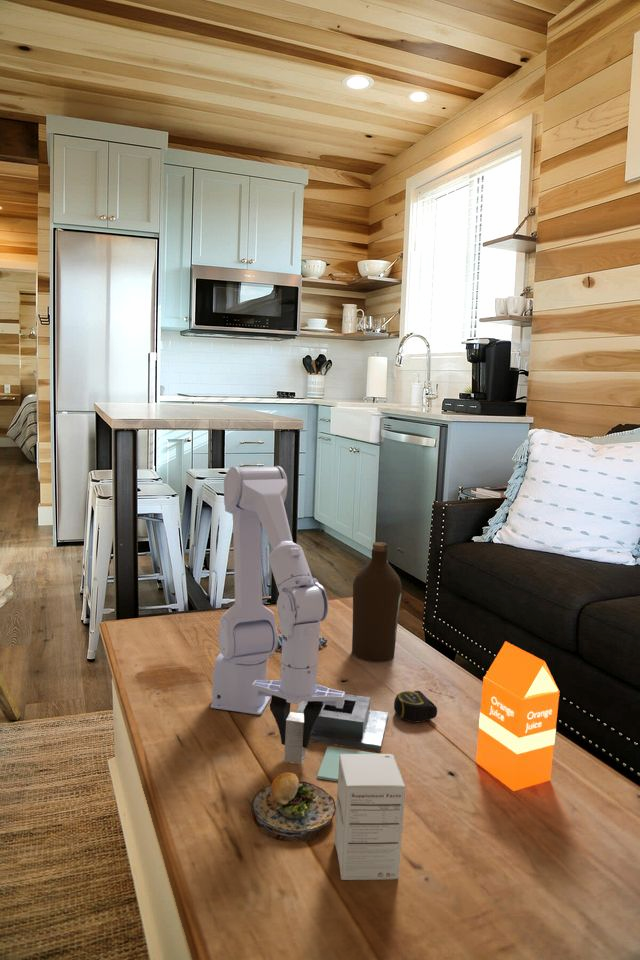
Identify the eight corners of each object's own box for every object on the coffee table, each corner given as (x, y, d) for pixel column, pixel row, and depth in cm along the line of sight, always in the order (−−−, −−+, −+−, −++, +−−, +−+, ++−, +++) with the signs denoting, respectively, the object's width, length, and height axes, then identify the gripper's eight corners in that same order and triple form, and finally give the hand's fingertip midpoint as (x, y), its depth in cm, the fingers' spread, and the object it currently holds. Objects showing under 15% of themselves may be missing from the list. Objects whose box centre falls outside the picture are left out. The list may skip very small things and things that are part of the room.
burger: (327, 850, 91) (330, 797, 90) (239, 835, 93) (241, 783, 92) (341, 797, 103) (344, 750, 102) (263, 785, 105) (265, 738, 104)
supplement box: (333, 842, 93) (338, 752, 91) (388, 841, 93) (395, 752, 91) (339, 882, 85) (345, 785, 84) (399, 881, 86) (407, 785, 84)
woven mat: (264, 649, 157) (265, 641, 157) (291, 636, 166) (292, 628, 166) (303, 661, 152) (304, 652, 151) (329, 647, 161) (330, 638, 160)
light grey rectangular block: (284, 761, 111) (286, 720, 110) (288, 752, 114) (290, 711, 113) (301, 764, 111) (303, 722, 110) (305, 755, 113) (307, 714, 112)
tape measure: (437, 724, 126) (439, 704, 126) (402, 727, 124) (404, 707, 124) (421, 706, 133) (422, 687, 132) (387, 710, 131) (388, 691, 130)
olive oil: (356, 664, 150) (363, 549, 147) (343, 645, 161) (350, 538, 157) (403, 662, 153) (411, 549, 149) (388, 643, 163) (395, 538, 159)
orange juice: (513, 791, 106) (525, 665, 103) (474, 762, 114) (485, 643, 111) (551, 780, 110) (564, 657, 107) (511, 752, 118) (522, 637, 115)
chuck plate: (285, 737, 119) (286, 714, 118) (301, 705, 130) (302, 685, 130) (380, 751, 116) (381, 728, 115) (387, 717, 127) (389, 696, 127)
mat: (317, 778, 107) (317, 775, 107) (327, 748, 116) (327, 746, 116) (376, 787, 105) (376, 784, 105) (382, 756, 114) (382, 754, 114)
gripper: (247, 665, 107) (244, 749, 109) (341, 677, 105) (336, 763, 107) (259, 648, 114) (256, 727, 116) (348, 659, 112) (343, 740, 114)
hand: (295, 743), depth 112 cm, fingers closed on light grey rectangular block, 3 cm apart
